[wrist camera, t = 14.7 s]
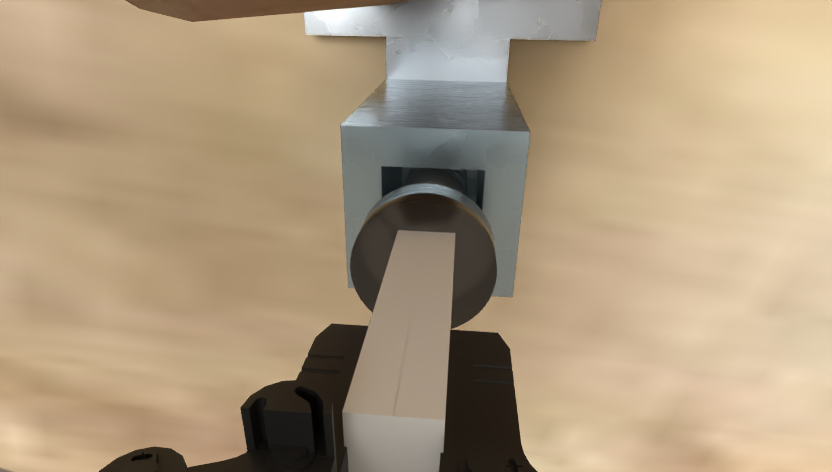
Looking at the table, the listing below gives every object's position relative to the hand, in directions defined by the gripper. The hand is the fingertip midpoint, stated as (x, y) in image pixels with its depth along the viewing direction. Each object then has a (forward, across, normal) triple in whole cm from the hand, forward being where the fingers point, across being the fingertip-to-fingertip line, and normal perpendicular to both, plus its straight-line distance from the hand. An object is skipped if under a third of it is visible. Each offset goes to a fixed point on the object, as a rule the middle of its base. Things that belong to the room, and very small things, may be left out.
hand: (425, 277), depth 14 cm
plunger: (+10, 0, 0) cm, 10 cm away
